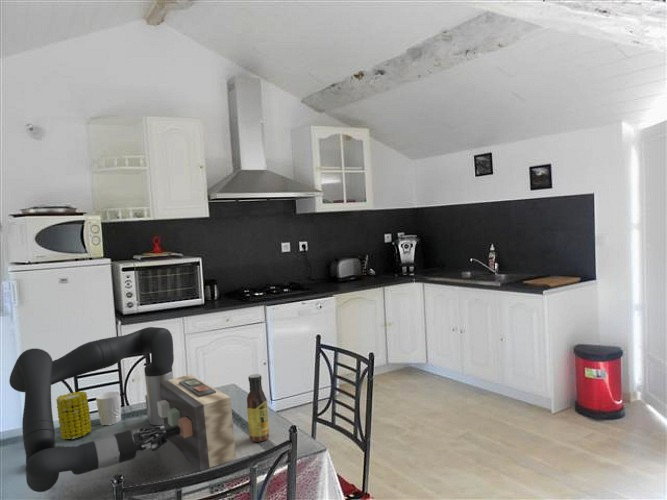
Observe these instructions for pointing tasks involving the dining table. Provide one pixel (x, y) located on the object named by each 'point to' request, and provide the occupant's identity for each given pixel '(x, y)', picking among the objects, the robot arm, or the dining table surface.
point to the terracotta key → (185, 427)
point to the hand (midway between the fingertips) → (179, 429)
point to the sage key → (173, 416)
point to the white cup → (109, 407)
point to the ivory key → (163, 408)
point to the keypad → (201, 420)
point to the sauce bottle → (257, 410)
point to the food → (73, 415)
